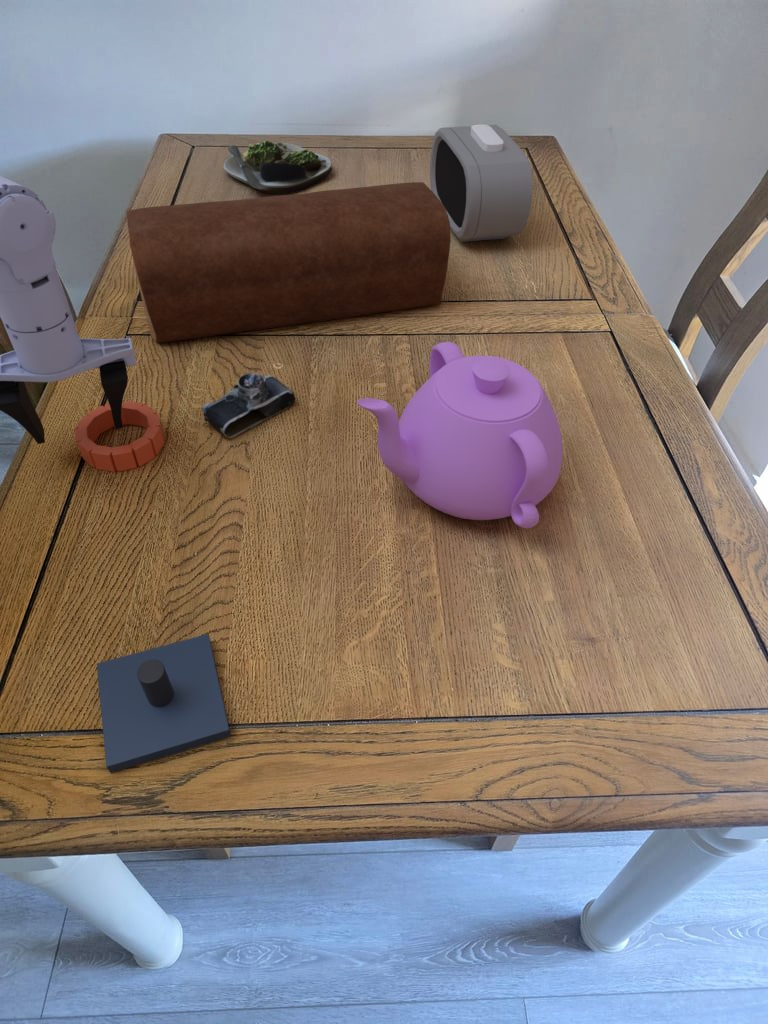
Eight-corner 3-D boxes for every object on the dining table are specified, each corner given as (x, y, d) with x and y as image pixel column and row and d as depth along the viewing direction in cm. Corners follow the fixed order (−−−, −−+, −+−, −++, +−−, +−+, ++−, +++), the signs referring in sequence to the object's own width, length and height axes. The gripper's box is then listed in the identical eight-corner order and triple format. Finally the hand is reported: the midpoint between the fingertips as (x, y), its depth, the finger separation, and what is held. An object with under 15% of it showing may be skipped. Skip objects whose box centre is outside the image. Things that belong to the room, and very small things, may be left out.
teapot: (319, 441, 78) (314, 333, 67) (490, 395, 84) (509, 290, 74) (405, 592, 64) (414, 486, 54) (600, 523, 71) (642, 416, 61)
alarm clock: (426, 197, 120) (433, 110, 110) (479, 193, 121) (490, 107, 111) (463, 257, 106) (474, 164, 96) (522, 251, 108) (539, 160, 98)
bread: (446, 310, 96) (457, 213, 86) (153, 351, 88) (128, 248, 78) (410, 255, 106) (417, 162, 96) (144, 287, 97) (120, 189, 88)
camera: (197, 420, 79) (191, 390, 76) (272, 383, 84) (269, 354, 81) (223, 443, 77) (218, 413, 74) (298, 404, 82) (296, 374, 79)
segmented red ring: (84, 478, 73) (77, 461, 71) (79, 426, 78) (73, 409, 76) (169, 461, 75) (164, 444, 73) (158, 411, 80) (153, 395, 78)
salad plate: (195, 169, 124) (190, 141, 120) (271, 142, 133) (269, 116, 130) (269, 205, 116) (266, 176, 112) (345, 174, 125) (345, 146, 121)
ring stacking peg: (110, 773, 52) (92, 744, 49) (100, 670, 58) (83, 638, 54) (231, 736, 55) (222, 706, 51) (210, 641, 60) (201, 607, 56)
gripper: (116, 280, 67) (147, 393, 77) (-50, 304, 64) (5, 419, 74) (123, 320, 63) (155, 434, 73) (-54, 347, 59) (5, 464, 70)
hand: (80, 429), depth 73 cm, fingers open, 7 cm apart
